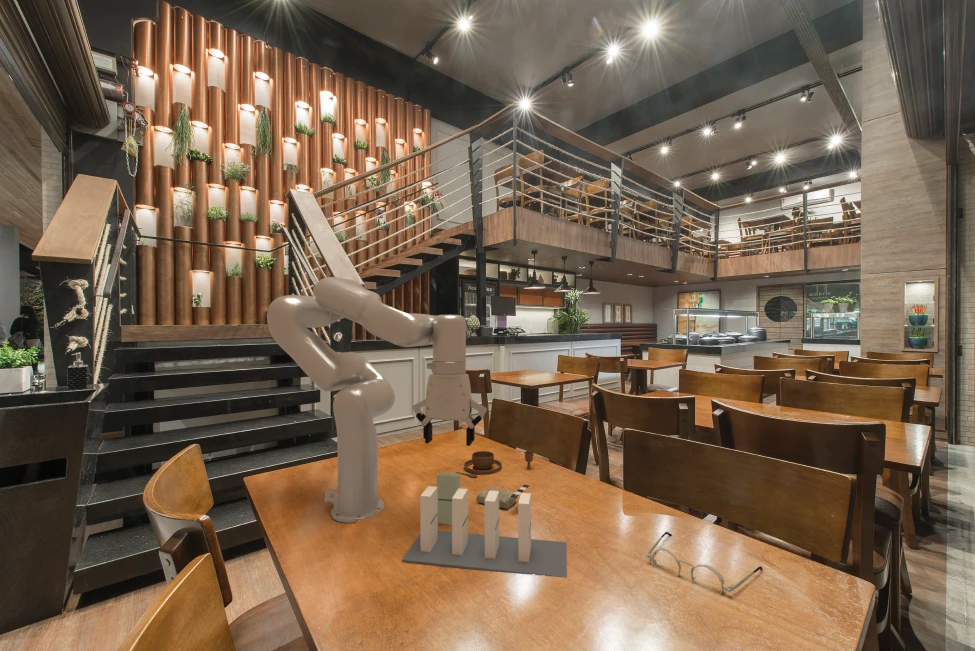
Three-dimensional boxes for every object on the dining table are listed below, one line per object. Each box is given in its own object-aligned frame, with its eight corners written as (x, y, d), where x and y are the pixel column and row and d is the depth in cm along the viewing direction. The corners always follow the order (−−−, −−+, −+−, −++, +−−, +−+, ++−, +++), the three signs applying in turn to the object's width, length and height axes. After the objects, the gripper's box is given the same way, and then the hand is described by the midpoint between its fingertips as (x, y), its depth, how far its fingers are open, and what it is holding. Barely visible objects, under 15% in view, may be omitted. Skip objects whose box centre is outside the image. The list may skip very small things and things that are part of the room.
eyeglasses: (638, 566, 79) (638, 540, 79) (673, 538, 89) (673, 514, 89) (739, 611, 66) (739, 580, 66) (766, 572, 77) (766, 545, 77)
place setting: (485, 458, 142) (485, 441, 142) (536, 471, 130) (536, 452, 130) (450, 473, 129) (450, 454, 129) (503, 488, 116) (503, 467, 116)
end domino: (458, 525, 94) (458, 476, 94) (437, 523, 95) (436, 475, 95) (460, 521, 96) (460, 473, 96) (439, 519, 97) (439, 472, 97)
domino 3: (484, 557, 80) (484, 500, 80) (489, 544, 85) (489, 490, 85) (495, 558, 80) (495, 501, 80) (499, 545, 85) (499, 491, 85)
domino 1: (420, 551, 83) (420, 495, 83) (428, 538, 88) (428, 486, 88) (430, 552, 82) (430, 496, 82) (437, 539, 87) (437, 486, 87)
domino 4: (518, 561, 79) (518, 503, 79) (520, 547, 84) (520, 492, 84) (529, 562, 79) (528, 504, 79) (531, 548, 84) (531, 493, 84)
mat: (401, 561, 80) (401, 559, 80) (422, 531, 92) (422, 529, 92) (566, 579, 74) (566, 577, 74) (566, 544, 86) (566, 542, 86)
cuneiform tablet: (515, 497, 99) (473, 487, 105) (516, 515, 99) (474, 505, 105) (529, 485, 105) (488, 477, 111) (530, 503, 105) (489, 493, 111)
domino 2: (452, 554, 82) (451, 498, 81) (458, 541, 86) (458, 488, 86) (462, 555, 81) (462, 499, 81) (468, 542, 86) (467, 488, 86)
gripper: (407, 369, 93) (407, 445, 93) (483, 371, 90) (482, 450, 90) (418, 366, 101) (418, 436, 101) (489, 367, 98) (488, 440, 98)
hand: (448, 443), depth 96 cm, fingers open, 9 cm apart
